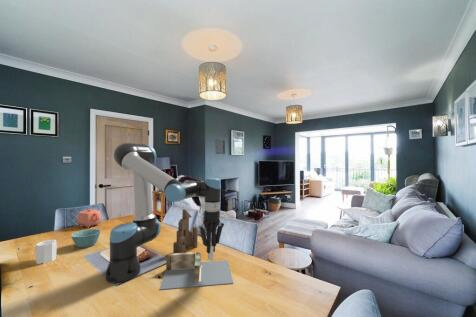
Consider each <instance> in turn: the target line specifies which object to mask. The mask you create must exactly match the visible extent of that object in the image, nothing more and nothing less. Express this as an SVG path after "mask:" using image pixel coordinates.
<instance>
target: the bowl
mask: <svg viewBox="0 0 476 317" xmlns="http://www.w3.org/2000/svg"><path fill="white" fill-rule="evenodd" d="M101 231H102V230H101V229H99V228H87V229H84V230H80V231H77V232H76V231H75V232H74V233H72V234H71V235H70V237H71V239H72V241H73V243H74V245H75V247H77V248H78V249H83V248H84V249H85V248H88V247H89V248H90V247H92V246H94V245H95V244H96V243H97V242H98V239H99V237H100V234H101Z"/></svg>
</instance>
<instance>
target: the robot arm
mask: <svg viewBox="0 0 476 317" xmlns="http://www.w3.org/2000/svg"><path fill="white" fill-rule="evenodd" d="M114 149H115V150H114V152H113V158H114V161H115V163H116V164H117V165H118V166H119V167H121V168H122V169H125V170H127V171H128V170H129V171H131V172H132V173H133V174H132V175H133V192H134V193H133V194H134V208H135V209H134V213H135V215H134V217H133V218H132V222H124V223H121V224H118V225H115V226H114V227H113V228H112V229H111V231H110V234H109V262H108V264H107V267H106V269H105V270H106V271H105V275H104V278H105V280H106V281H107V282H109V283H122V282H125V281H129V280H132V279H133V278H135V277H137V276H139V274H140V273H141V269H142V268H141V264H140V261H139V258H138V247H141V246H143V245H145V244H147V243H149V242H151V241H153V240H155V239H156V238H158V236H159V235H160V234H161V230H162V226H161V222H160V221H159V219H158V218H157V216H156V214H154V213H153V200H152V199H153V198H152V186H154V187H155V188H157V189H158V190H160V191H162V192H163V193H164V197H165V198H166V200H167V201H169V202H171V203H175V202H177V203H178V202H180V201H181V202H182V200H183V201H184V200H186V199H190V198H193V197H198V198H200V197H201V198H204V203H203V204H204V206H203V207H204V209H203V221H202V224H200V225H199V226H197V227H198V230H199V231H200V236H201V240H202V241H201V242H202V245H203V246H205V247H206V253H207V259H208V261H214V253H215V252H216V247H217V244H219V243H220V240H221V235H222V231H223V228H224V226H225V223H223V222H222V221H221V220H220V217H221V216H220V215H221V210H220V209H221V189H222V185H221V179H220V178H219V177H218V178H217V177H206V178H205V179H204V181H200V180H192V179H191V180H188V179H187V180H184V182H181V181H179V180H178V179H176V178H175V177H172V176H171V175H170V174H168V173H166V172H164V171H163V170H162V169H160V168H158V167H157V166H155V165H154V164H155V163H156V161H157V153H156V150H155V148H154V147H152V146H151V145H148V144H145V143H144V144H143V143H134V142H133V143H132V142H127V143H126V142H124V143H121V144H119V145H118V146H117V147H116V148H114ZM205 229H206V231H205Z"/></svg>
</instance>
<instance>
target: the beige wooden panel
mask: <svg viewBox="0 0 476 317" xmlns="http://www.w3.org/2000/svg"><path fill="white" fill-rule="evenodd" d="M196 254H201V256H202V252H201V251H197V252H195V251H193V252H192V251H191V252H185V253H167V254H166V259H165V260H166V262H165V263H166V264H165V267H166V268H165V271H166V270H171V269H181V268H194V267H195V259H196ZM201 256H200V267H201V262H202V257H201Z"/></svg>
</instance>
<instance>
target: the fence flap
mask: <svg viewBox="0 0 476 317" xmlns="http://www.w3.org/2000/svg"><path fill="white" fill-rule="evenodd" d="M200 256H202V253H201V254H196V253H195V267H194V268H195V281H199V276H200Z"/></svg>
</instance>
